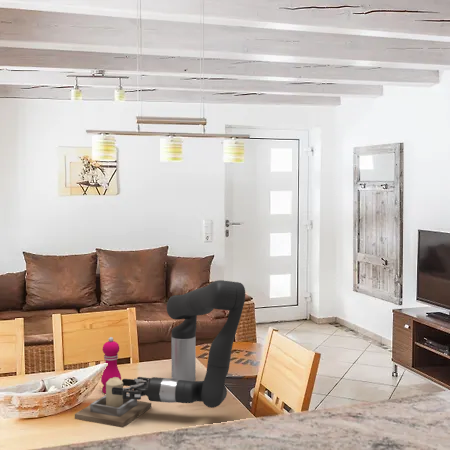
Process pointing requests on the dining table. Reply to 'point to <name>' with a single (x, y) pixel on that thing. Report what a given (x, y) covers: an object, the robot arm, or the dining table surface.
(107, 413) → the board
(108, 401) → the candle
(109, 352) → the pepper mill
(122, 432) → the dining table surface
